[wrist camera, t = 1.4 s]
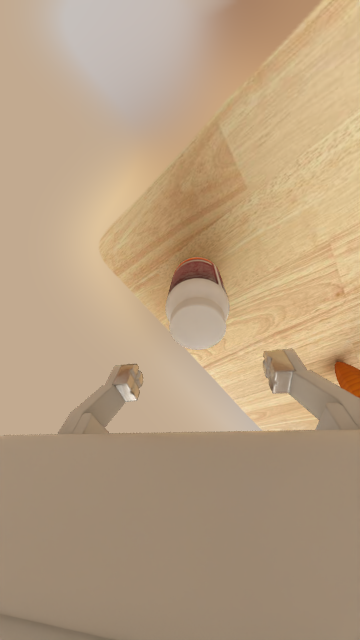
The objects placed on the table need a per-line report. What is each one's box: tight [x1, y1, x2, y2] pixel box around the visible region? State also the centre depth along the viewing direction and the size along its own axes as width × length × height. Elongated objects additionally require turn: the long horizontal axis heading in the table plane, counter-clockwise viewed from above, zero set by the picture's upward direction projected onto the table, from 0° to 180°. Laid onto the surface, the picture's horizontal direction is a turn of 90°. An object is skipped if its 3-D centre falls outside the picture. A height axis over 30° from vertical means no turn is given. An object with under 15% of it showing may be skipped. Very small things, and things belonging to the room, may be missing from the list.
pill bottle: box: [165, 257, 230, 350], centre depth 19 cm, size 6×6×11 cm
